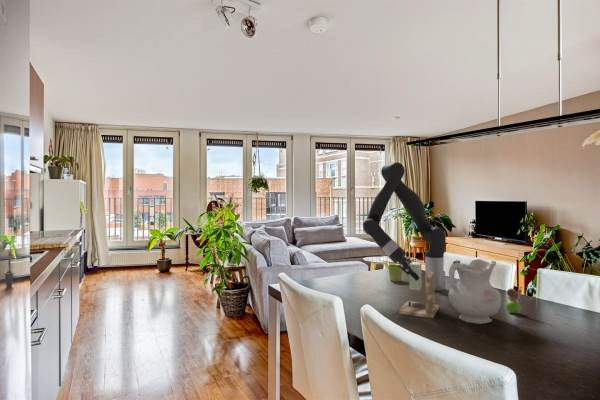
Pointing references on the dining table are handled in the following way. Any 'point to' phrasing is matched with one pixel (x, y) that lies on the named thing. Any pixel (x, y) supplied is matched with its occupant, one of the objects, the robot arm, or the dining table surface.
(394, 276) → the plant pot
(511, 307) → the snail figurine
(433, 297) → the hinge base
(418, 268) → the pale green block
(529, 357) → the dining table surface
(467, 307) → the ceramic pitcher
